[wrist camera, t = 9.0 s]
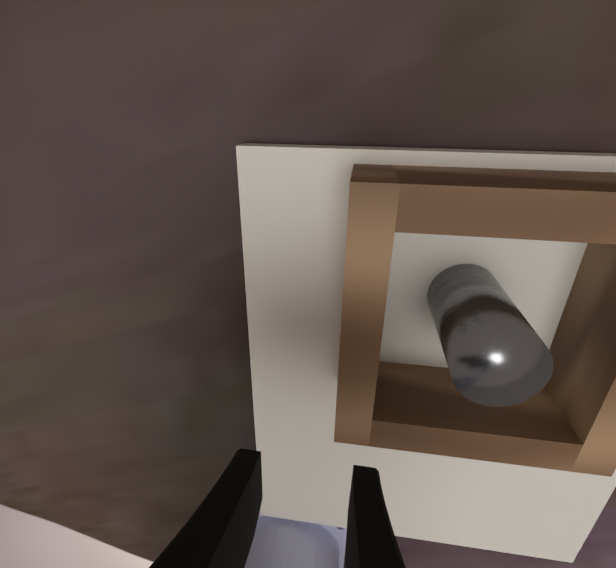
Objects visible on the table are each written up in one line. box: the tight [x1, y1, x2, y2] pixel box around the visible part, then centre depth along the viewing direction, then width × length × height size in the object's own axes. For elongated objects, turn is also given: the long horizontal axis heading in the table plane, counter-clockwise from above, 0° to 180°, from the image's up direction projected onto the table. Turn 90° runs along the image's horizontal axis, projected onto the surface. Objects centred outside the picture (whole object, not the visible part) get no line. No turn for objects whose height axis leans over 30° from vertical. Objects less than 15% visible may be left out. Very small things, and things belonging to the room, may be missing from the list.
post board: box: [236, 143, 616, 563], centre depth 17 cm, size 24×20×6 cm
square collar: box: [334, 164, 616, 477], centre depth 15 cm, size 11×11×4 cm
